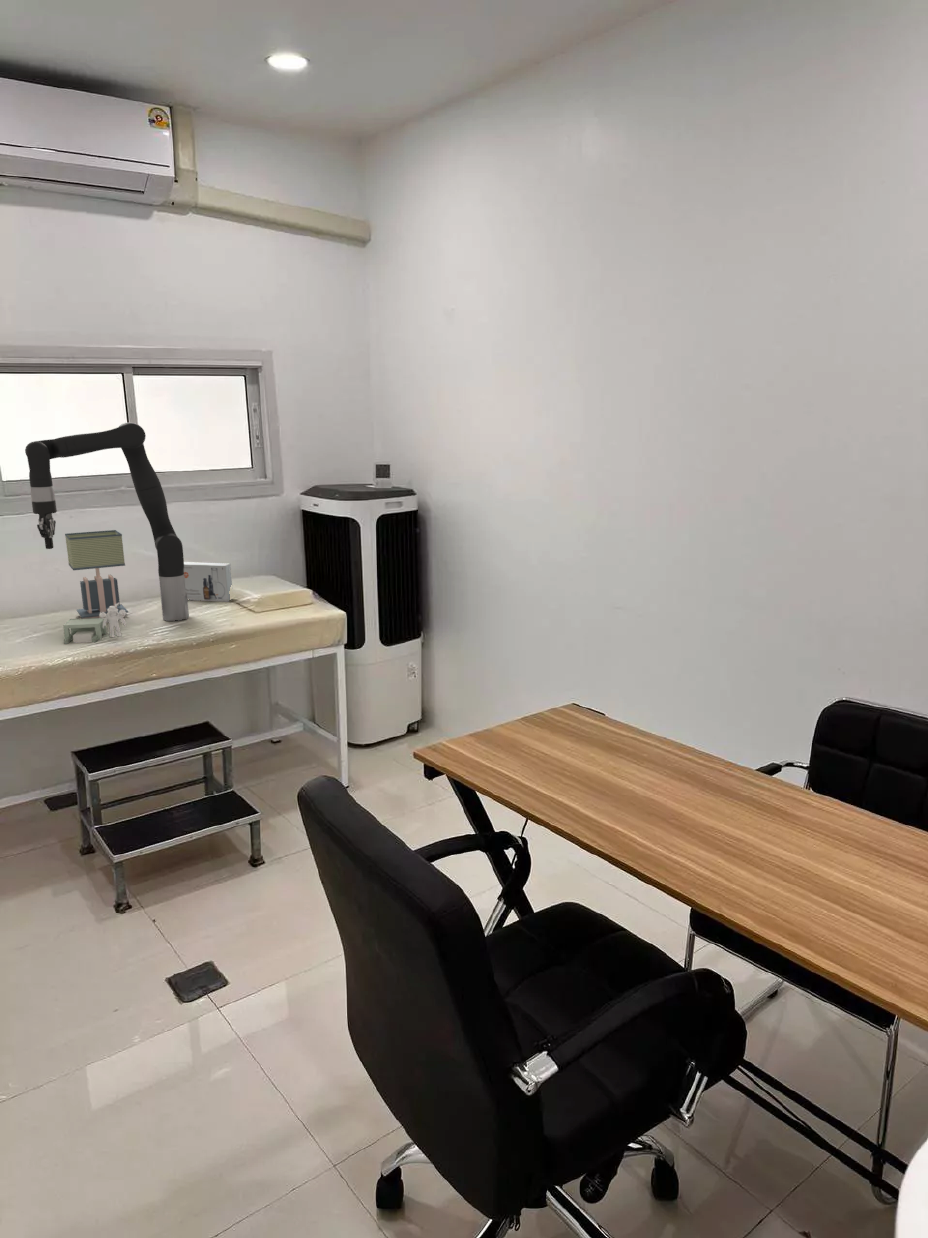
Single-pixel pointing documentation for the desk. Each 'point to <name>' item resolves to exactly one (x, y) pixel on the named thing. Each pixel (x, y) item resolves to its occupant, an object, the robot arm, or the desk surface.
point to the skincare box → (207, 581)
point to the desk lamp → (96, 554)
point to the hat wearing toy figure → (113, 619)
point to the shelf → (84, 623)
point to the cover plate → (84, 635)
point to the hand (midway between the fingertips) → (49, 548)
